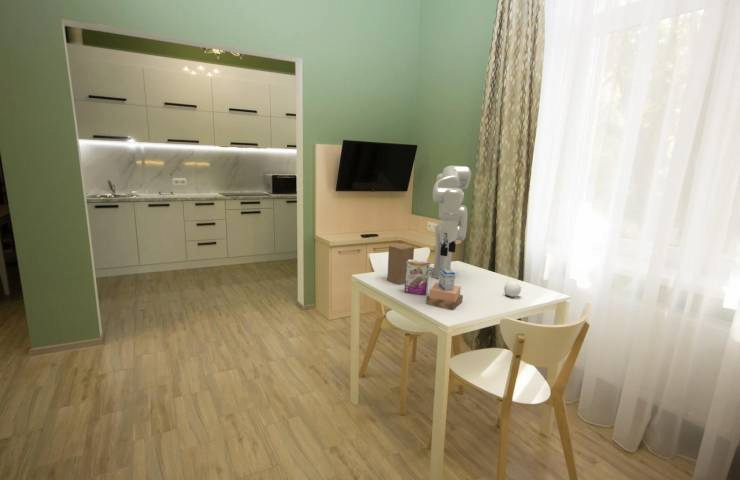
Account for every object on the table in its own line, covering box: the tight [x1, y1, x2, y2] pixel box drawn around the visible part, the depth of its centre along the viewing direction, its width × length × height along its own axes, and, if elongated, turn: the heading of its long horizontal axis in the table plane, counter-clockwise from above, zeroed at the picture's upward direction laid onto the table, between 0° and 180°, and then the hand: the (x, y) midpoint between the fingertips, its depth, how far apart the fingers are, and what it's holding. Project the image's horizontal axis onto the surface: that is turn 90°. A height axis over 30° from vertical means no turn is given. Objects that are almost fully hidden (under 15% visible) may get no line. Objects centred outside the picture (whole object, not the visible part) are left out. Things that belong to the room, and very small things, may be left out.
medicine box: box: [438, 268, 456, 291], centre depth 177 cm, size 8×4×9 cm, turn 11°
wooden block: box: [386, 243, 415, 285], centre depth 208 cm, size 10×10×20 cm
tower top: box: [428, 282, 461, 302], centre depth 178 cm, size 12×12×4 cm
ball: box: [503, 280, 522, 298], centre depth 191 cm, size 8×8×8 cm
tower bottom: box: [425, 294, 464, 311], centre depth 178 cm, size 13×13×4 cm
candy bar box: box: [404, 259, 431, 296], centre depth 190 cm, size 11×5×16 cm, turn 71°
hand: (447, 253), depth 174 cm, fingers open, 9 cm apart
